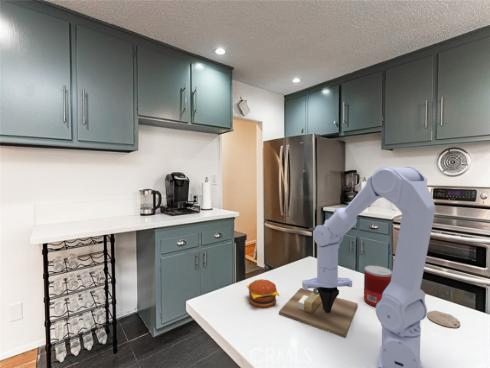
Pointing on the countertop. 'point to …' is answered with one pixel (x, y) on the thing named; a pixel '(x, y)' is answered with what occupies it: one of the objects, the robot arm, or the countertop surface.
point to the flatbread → (443, 319)
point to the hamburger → (262, 293)
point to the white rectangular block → (302, 302)
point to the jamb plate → (322, 314)
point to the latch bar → (312, 301)
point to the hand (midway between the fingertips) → (326, 311)
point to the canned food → (375, 283)
